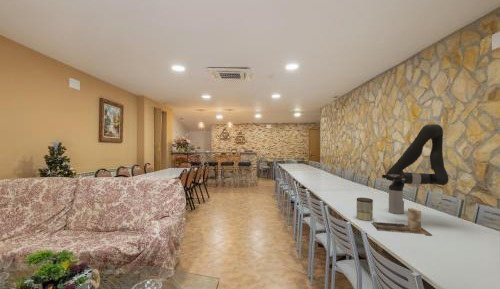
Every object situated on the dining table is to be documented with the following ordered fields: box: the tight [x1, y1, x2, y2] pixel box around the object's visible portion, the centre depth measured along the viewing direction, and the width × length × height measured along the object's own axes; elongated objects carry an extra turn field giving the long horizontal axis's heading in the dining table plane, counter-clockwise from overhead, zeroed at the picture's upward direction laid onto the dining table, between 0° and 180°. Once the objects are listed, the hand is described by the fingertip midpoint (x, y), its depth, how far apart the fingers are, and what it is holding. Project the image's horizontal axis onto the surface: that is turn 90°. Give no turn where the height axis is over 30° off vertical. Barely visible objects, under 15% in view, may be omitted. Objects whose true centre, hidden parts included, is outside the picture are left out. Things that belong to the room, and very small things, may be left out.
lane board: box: [371, 221, 433, 237], centre depth 150 cm, size 28×15×2 cm, turn 78°
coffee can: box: [356, 197, 374, 222], centre depth 169 cm, size 10×10×14 cm
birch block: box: [407, 207, 422, 231], centre depth 148 cm, size 5×5×12 cm
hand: (384, 177), depth 165 cm, fingers open, 8 cm apart
